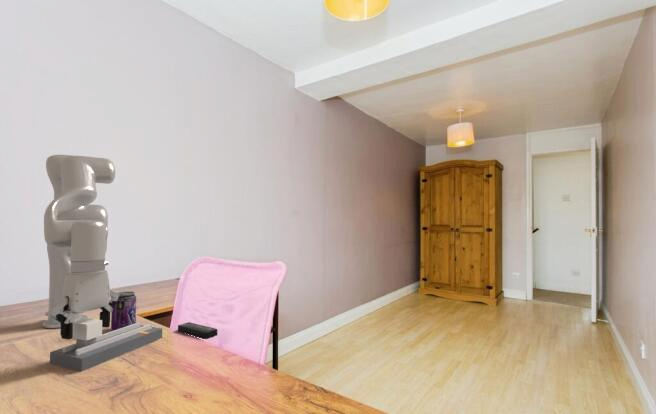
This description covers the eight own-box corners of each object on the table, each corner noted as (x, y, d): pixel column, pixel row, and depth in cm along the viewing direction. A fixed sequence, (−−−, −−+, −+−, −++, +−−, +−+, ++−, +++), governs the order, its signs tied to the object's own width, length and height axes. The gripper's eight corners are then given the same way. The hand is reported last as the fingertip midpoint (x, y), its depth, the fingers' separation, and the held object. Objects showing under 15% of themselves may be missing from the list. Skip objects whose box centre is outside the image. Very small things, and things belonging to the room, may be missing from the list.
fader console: (49, 364, 85) (50, 347, 85) (133, 333, 108) (133, 320, 108) (81, 371, 81) (82, 353, 81) (162, 338, 104) (162, 324, 104)
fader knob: (70, 348, 87) (71, 322, 87) (86, 343, 91) (86, 317, 91) (86, 352, 85) (86, 324, 85) (101, 346, 89) (102, 320, 89)
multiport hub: (206, 340, 103) (206, 332, 103) (177, 332, 110) (177, 325, 110) (218, 336, 106) (218, 328, 107) (188, 328, 114) (189, 321, 114)
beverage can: (124, 333, 108) (124, 296, 108) (105, 332, 109) (106, 295, 110) (140, 326, 115) (141, 291, 115) (123, 325, 116) (123, 290, 117)
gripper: (109, 262, 98) (108, 321, 97) (41, 271, 82) (39, 342, 81) (127, 263, 96) (126, 324, 95) (61, 272, 79) (60, 345, 79)
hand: (86, 332), depth 88 cm, fingers open, 9 cm apart
